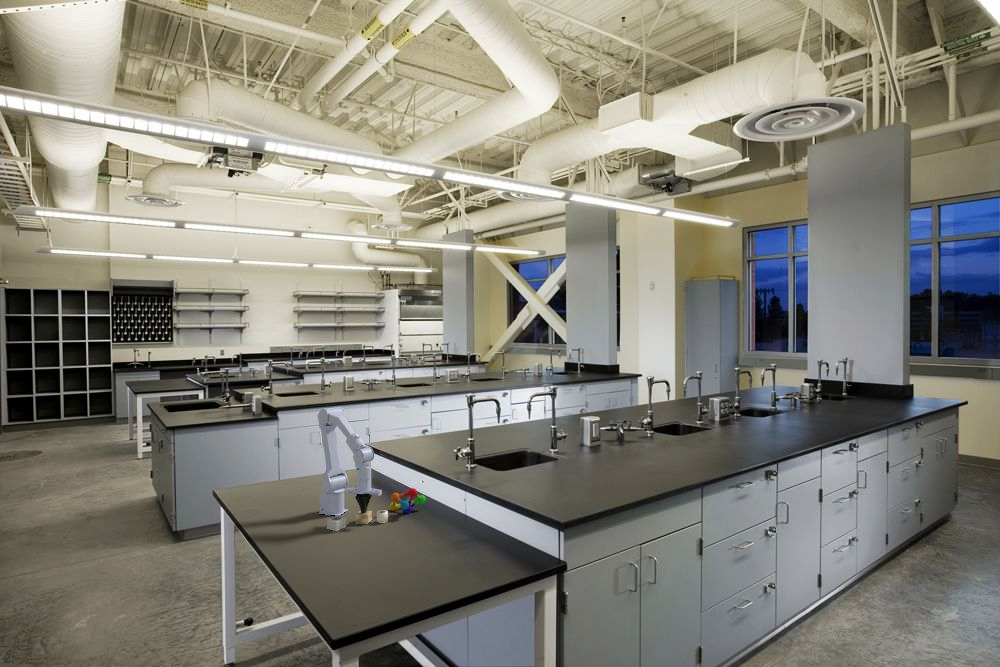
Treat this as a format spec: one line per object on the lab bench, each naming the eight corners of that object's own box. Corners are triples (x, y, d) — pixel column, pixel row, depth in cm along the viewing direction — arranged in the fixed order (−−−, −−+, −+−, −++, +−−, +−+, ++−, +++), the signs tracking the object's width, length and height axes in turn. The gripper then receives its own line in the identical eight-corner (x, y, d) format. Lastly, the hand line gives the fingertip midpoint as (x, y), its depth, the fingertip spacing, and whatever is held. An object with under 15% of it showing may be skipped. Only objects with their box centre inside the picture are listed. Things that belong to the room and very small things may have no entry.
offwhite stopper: (374, 523, 219) (374, 512, 219) (379, 519, 223) (379, 509, 223) (385, 524, 218) (385, 513, 218) (389, 520, 222) (389, 510, 222)
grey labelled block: (326, 530, 212) (326, 519, 212) (336, 526, 216) (336, 515, 216) (336, 532, 209) (336, 521, 209) (346, 528, 214) (345, 517, 214)
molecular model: (385, 521, 230) (405, 512, 221) (378, 499, 233) (399, 489, 224) (413, 513, 242) (433, 504, 233) (406, 491, 244) (427, 481, 236)
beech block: (355, 524, 217) (355, 514, 217) (359, 520, 222) (359, 510, 222) (368, 524, 217) (368, 514, 217) (371, 520, 222) (371, 510, 222)
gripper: (342, 479, 218) (342, 514, 218) (376, 481, 214) (376, 516, 214) (350, 475, 224) (350, 508, 224) (383, 477, 221) (384, 511, 221)
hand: (363, 512), depth 220 cm, fingers closed
